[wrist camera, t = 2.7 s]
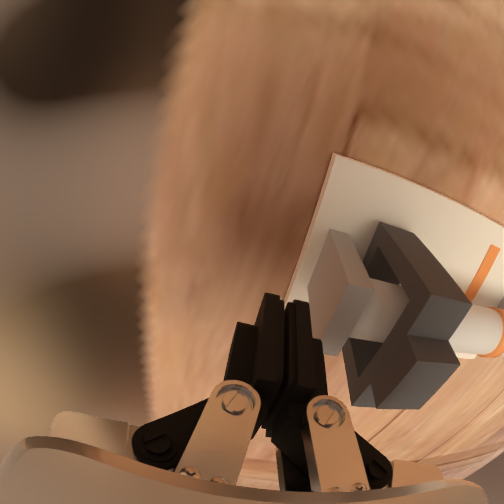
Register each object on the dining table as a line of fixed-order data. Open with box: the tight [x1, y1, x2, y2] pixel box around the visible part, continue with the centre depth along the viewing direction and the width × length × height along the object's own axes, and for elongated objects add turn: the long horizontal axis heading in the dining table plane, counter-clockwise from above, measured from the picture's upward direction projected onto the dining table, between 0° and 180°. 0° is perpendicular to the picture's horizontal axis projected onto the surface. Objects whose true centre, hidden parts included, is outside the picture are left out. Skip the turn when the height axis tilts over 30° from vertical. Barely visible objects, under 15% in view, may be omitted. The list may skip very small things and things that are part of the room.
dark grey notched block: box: [342, 221, 472, 409], centre depth 13 cm, size 2×7×8 cm, turn 167°
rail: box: [284, 153, 504, 359], centre depth 15 cm, size 20×12×7 cm, turn 77°
